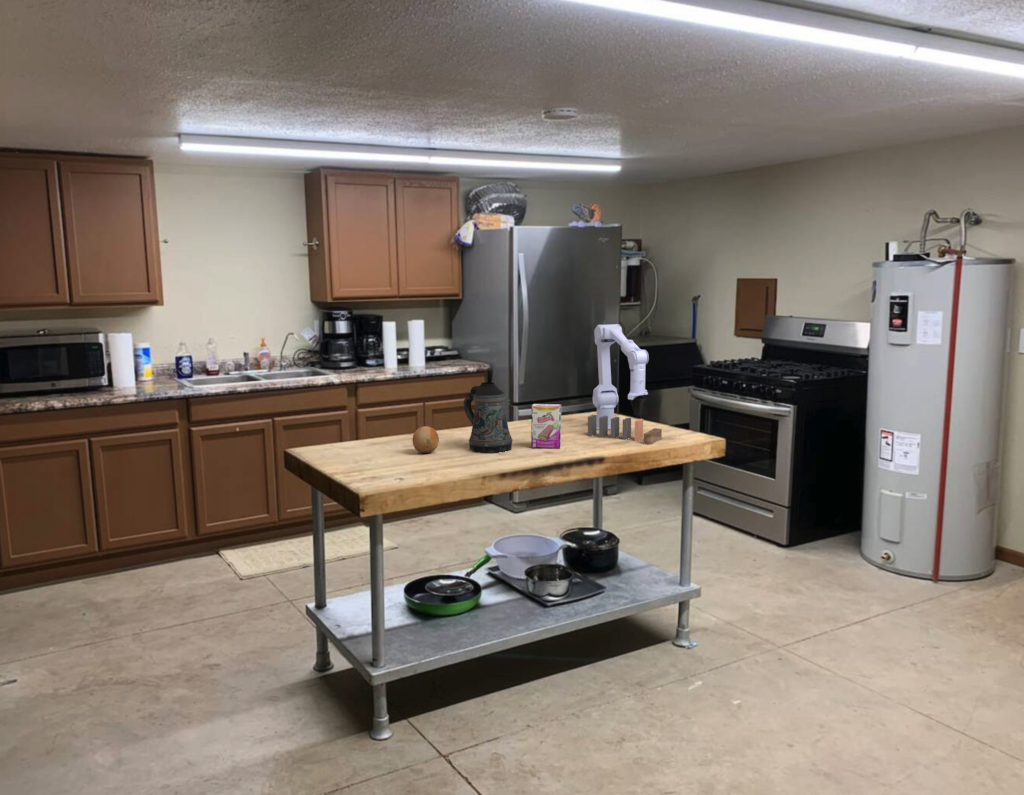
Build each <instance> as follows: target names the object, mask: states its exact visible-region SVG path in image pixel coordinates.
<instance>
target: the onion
mask: <svg viewBox="0 0 1024 795" xmlns="http://www.w3.org/2000/svg"><path fill="white" fill-rule="evenodd" d="M412 435H413V436H412V444H413V448H414V449H415V450H416V451H417V452H418V453H421V454H428V453H432V452H434V451H435V450H436V449H437V448H438V447H439V443H440V438H439V434H438V432H437V431H436V429H435V428H433V427H432V426H429V425H428V426H427V425H426V426H425V425H424V426H419V427H418V428H417V429H416V430H415V431H414V433H412Z"/></svg>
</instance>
